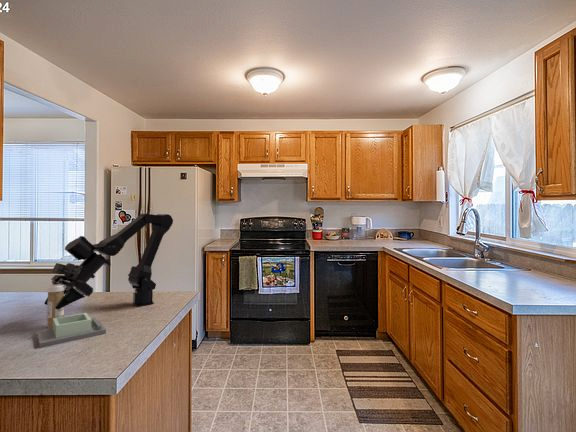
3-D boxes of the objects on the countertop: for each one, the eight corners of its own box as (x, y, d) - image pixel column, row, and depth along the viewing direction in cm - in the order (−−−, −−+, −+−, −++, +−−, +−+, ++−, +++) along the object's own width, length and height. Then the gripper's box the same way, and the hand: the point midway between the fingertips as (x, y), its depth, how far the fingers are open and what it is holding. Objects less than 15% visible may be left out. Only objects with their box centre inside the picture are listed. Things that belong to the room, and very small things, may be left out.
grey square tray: (97, 323, 103) (98, 309, 103) (106, 333, 94) (106, 318, 94) (37, 334, 92) (37, 319, 92) (39, 347, 83) (40, 330, 83)
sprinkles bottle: (63, 326, 99) (64, 285, 99) (45, 329, 97) (46, 287, 97) (64, 322, 103) (65, 283, 103) (47, 324, 101) (48, 284, 101)
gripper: (58, 251, 108) (18, 288, 99) (83, 256, 98) (41, 297, 89) (82, 270, 115) (46, 306, 106) (108, 276, 105) (71, 316, 96)
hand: (50, 306), depth 99 cm, fingers open, 8 cm apart
